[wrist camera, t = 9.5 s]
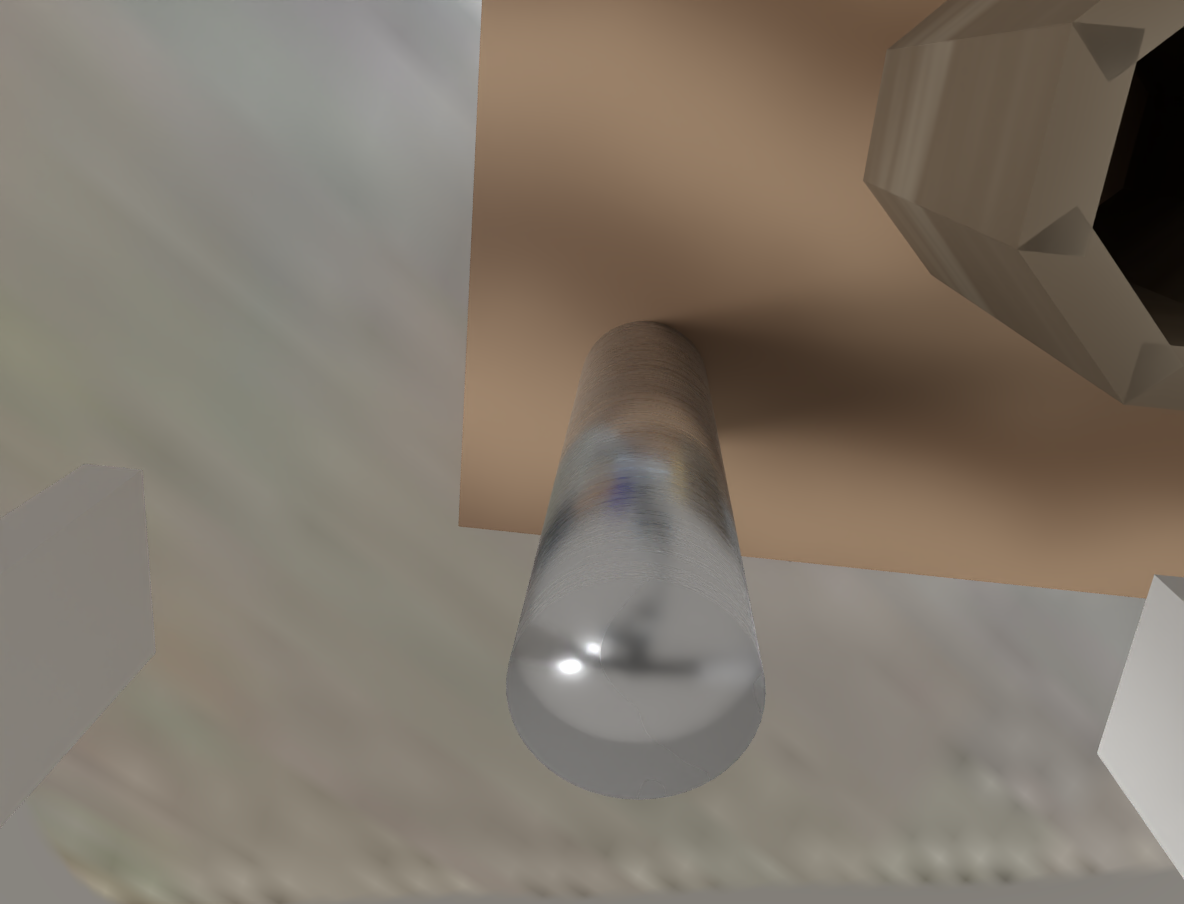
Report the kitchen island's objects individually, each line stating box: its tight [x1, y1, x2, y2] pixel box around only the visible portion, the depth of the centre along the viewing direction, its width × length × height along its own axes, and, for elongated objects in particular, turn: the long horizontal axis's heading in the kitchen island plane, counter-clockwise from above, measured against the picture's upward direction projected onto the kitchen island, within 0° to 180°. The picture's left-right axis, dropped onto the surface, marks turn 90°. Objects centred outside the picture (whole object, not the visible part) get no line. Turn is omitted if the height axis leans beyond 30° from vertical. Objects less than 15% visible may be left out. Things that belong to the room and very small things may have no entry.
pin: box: [506, 321, 766, 800], centre depth 16 cm, size 3×3×12 cm
